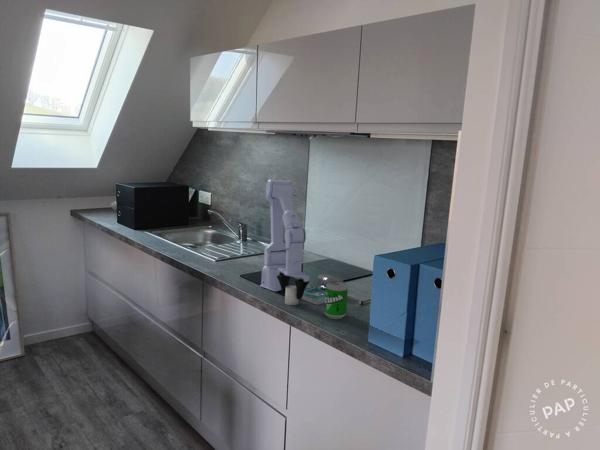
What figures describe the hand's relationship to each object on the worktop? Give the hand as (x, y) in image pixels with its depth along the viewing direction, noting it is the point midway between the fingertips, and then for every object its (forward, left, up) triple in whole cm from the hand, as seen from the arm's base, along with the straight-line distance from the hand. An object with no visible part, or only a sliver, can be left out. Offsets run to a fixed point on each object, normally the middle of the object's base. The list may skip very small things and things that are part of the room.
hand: (291, 296), depth 169 cm
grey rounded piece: (0, 0, -3) cm, 3 cm away
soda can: (+19, +2, -3) cm, 19 cm away
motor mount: (+2, +15, -3) cm, 15 cm away
